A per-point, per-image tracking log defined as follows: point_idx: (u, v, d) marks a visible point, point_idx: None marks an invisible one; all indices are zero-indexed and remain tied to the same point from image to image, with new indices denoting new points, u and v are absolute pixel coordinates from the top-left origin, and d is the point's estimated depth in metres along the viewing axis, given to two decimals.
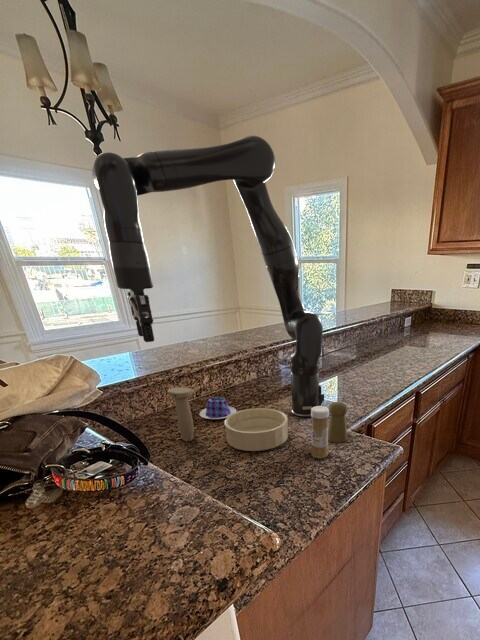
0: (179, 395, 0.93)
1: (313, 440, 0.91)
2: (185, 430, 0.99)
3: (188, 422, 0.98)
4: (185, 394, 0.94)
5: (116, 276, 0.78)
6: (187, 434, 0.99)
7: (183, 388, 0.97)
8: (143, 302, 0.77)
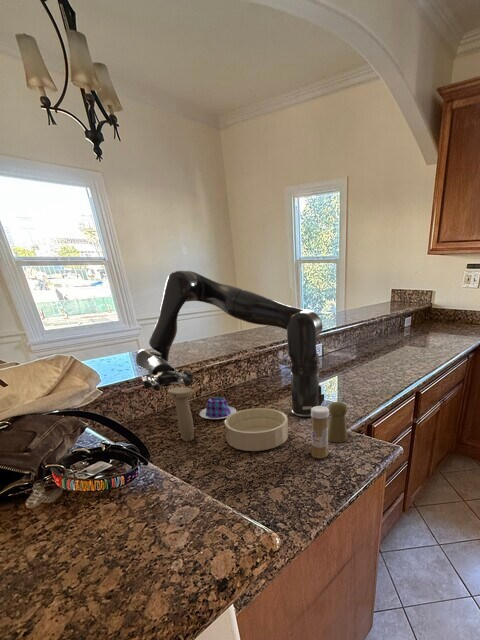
0: (179, 395, 0.93)
1: (313, 440, 0.91)
2: (185, 430, 0.99)
3: (188, 422, 0.98)
4: (185, 394, 0.94)
5: None
6: (187, 434, 0.99)
7: (183, 388, 0.97)
8: (142, 380, 1.08)
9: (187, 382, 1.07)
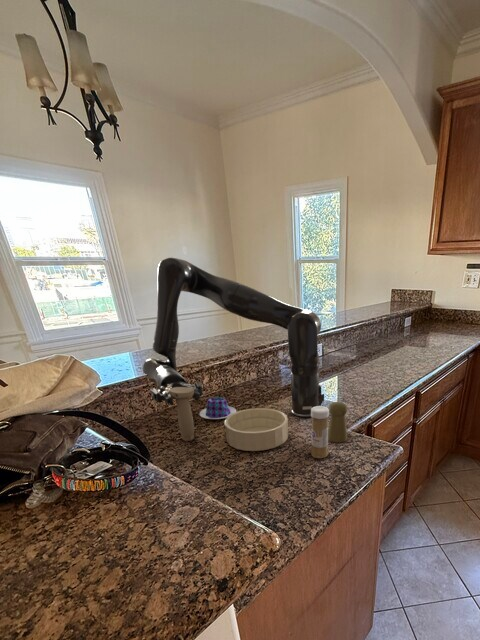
0: (180, 395, 0.93)
1: (313, 440, 0.91)
2: (186, 430, 0.99)
3: (188, 422, 0.98)
4: (187, 394, 0.94)
5: None
6: (187, 434, 0.99)
7: (185, 388, 0.97)
8: (151, 394, 0.98)
9: (196, 396, 0.96)
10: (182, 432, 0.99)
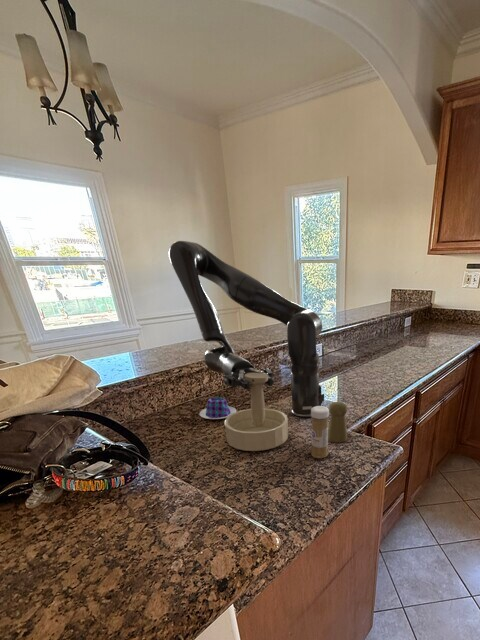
0: (257, 380, 0.94)
1: (313, 440, 0.91)
2: (258, 415, 1.00)
3: (261, 407, 0.99)
4: (263, 379, 0.95)
5: None
6: (259, 419, 1.01)
7: (258, 373, 0.98)
8: (225, 379, 0.99)
9: (271, 381, 0.97)
10: (254, 417, 1.00)
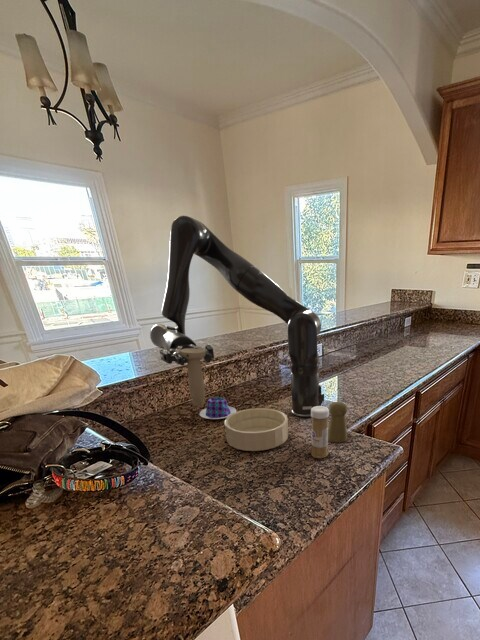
0: (191, 355, 0.89)
1: (313, 440, 0.91)
2: (197, 393, 0.95)
3: (200, 385, 0.94)
4: (198, 354, 0.89)
5: None
6: (198, 398, 0.95)
7: (196, 349, 0.93)
8: (161, 355, 0.94)
9: (208, 357, 0.92)
10: (193, 396, 0.95)
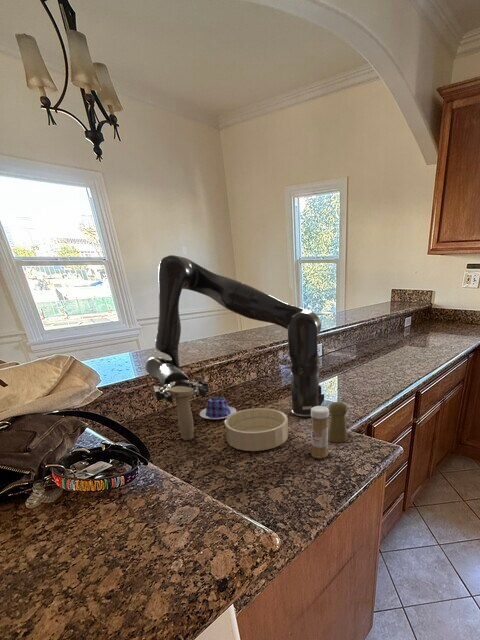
0: (180, 394, 0.94)
1: (313, 440, 0.91)
2: (185, 429, 0.99)
3: (188, 421, 0.99)
4: (186, 393, 0.94)
5: None
6: (187, 433, 1.00)
7: (185, 387, 0.98)
8: (154, 391, 0.99)
9: (203, 393, 0.97)
10: (182, 431, 1.00)
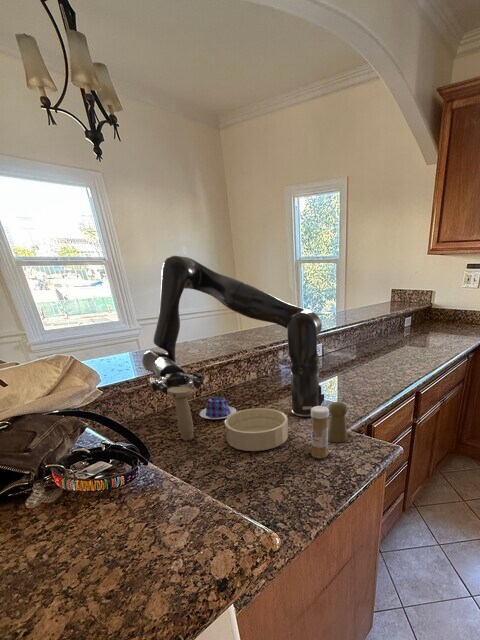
0: (178, 394, 0.94)
1: (313, 440, 0.91)
2: (185, 429, 0.99)
3: (187, 421, 0.98)
4: (185, 393, 0.94)
5: None
6: (187, 433, 1.00)
7: (183, 387, 0.97)
8: (150, 383, 1.02)
9: (197, 384, 1.01)
10: (181, 432, 1.00)
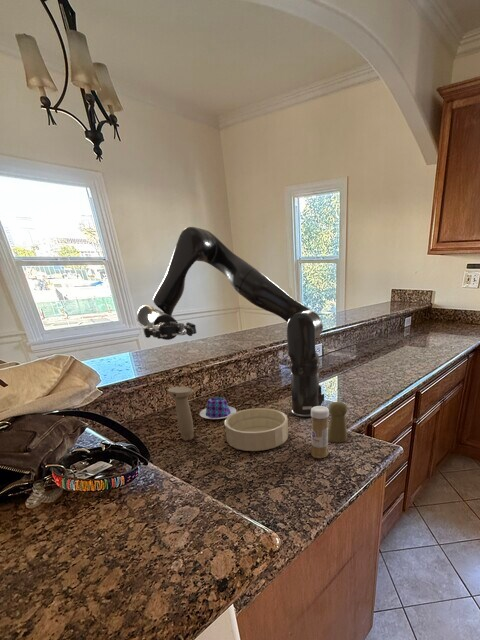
0: (178, 394, 0.94)
1: (313, 440, 0.91)
2: (185, 429, 0.99)
3: (188, 421, 0.98)
4: (185, 393, 0.94)
5: None
6: (187, 433, 1.00)
7: (183, 387, 0.97)
8: (143, 330, 1.03)
9: (190, 331, 1.02)
10: (182, 431, 1.00)
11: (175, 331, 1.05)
